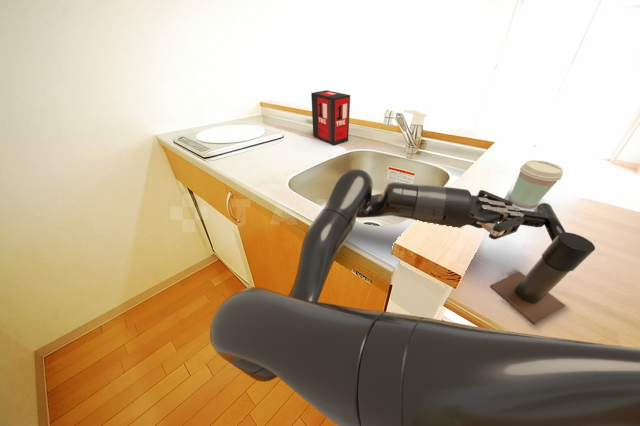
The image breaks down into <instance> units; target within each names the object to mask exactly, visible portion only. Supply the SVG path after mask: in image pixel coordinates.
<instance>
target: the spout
mask: <svg viewBox="0 0 640 426" xmlns="http://www.w3.org/2000/svg"><path fill="white" fill-rule="evenodd" d="M533 211H534V212H540V213H544V214H545V216H546V217H547V218H548V220H547V222H546V223H545V224H544V228H545V230H546V231H547V234H548V236H549V238H550V240H551V243H550V244H549V245H548V246H547V247H546V248H545V250H543V252H542V254H541V257H542V258H543V260H544V261H545V262H546V263H548V264H549V265H550V266H552V267H554V268H556V269H559V270H562V271H570V272H573V271H575V270H576V268H578V267H579V266H580V265H581V264H582V263H583V262H584V261H585V260H586V259H587V258H588V257H589V256H590V255H591V254H592V253H593V252H594V251H595V250H596V246H595V245H594V243H593V242H592V241H590V240H589V239H588V238H586V237H584V236H582V235H579V234H576V233H573V232H567V231H566V230H565V228H564V227H563V225H562V223H561V221H560V220H559V217H558V216H557V214H556V212H555V211H554V209H553V207H552V205H551V204H550V203H546V202H542V203H539V204H536V205H535V208H533Z"/></svg>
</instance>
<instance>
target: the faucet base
mask: <svg viewBox="0 0 640 426" xmlns="http://www.w3.org/2000/svg"><path fill="white" fill-rule="evenodd" d="M570 272H571V271H562V270H559V269H556V268H554V267H552V266H550V265H549V264H548V263H546V262H545V261H544V260H543V258H542V256H541V257H540V259H538V260H537V262H536V263H535V264H534V265H533V266H532V268H531V269H530V270H529V271H528V273H526V275H525V274H523V273H522V272H520V271H517V272H515V273H513V274H511V275H508V276H506V277H505V278H502V279H501V280H497V281H496V282H495V283H493V284H490V285H489V288H490V289H491V290H492V291H494V292H495V293H496V294H497V295H499V296H500V297H501V298H502V299H503V300H505V302H507V304H508V305H510V306H511V307H513V308H514V309H515V310H516V311H517V312H518V313H520V315H522V317H524V318H526V319H527V320H528V321H529V322H530V323H531V324H532V325H534V326H535V325H536V324H538V323H540V322H542V321H543V320H545V319H547V318H548V317H550V316H552V315H554V314H555V313H557V312H559V311H561V310H562V309H564V308H565V307H566V304H565V303H563V302H561V300H559V299H557V298H556V297H555V296H554V295H552V294H551V293H550V292H551V291H552V290H553V289H554V288H555V287H556V286H557V285H558V284H559V283H560V282H561V281H562V280H563V279H564V278H565V277H566V276H567V275H568V274H569V273H570Z"/></svg>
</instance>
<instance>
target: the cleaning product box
mask: <svg viewBox="0 0 640 426" xmlns="http://www.w3.org/2000/svg"><path fill="white" fill-rule="evenodd" d="M310 96H311V117H312V137H313V138H316V139H318V140H321V141H322V142H325V143H327V144H329V145H331V146H337V145H340V144H341V145H342V144H344V143H347V142H348V141H349V130H350V111H351V110H350V109H351V94H346V93H341V92H338V91H332V90H327V89H326V90H320V91H314V92H311V94H310Z"/></svg>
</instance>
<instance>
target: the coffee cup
mask: <svg viewBox="0 0 640 426" xmlns="http://www.w3.org/2000/svg"><path fill="white" fill-rule="evenodd" d="M563 173H564V169H563V168H562V167H561V166H560V165H558V164H556V163H553V162H550V161H545V160H539V159H531V160H527V161H526V162H525V163H523V165H521V167H519V173H518V175H517V179H516V181H515V183H514V186H513V189H512V191H511V193H510V195H509V198H508V199H509V201H511V202H512V203H513V204H514V205H516V206H517V207H521V208H525V209H532V208H534V207H536V206H537V205H538V203H539V202H540V201H541V200H542V199H543V198H544V197H545V196H546V194H547V193H548V192H549V191H550V190H551V189H552V188H553V187H554V186H555V184H556V183H557V182H558V181H560V180H562V177H563Z"/></svg>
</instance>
